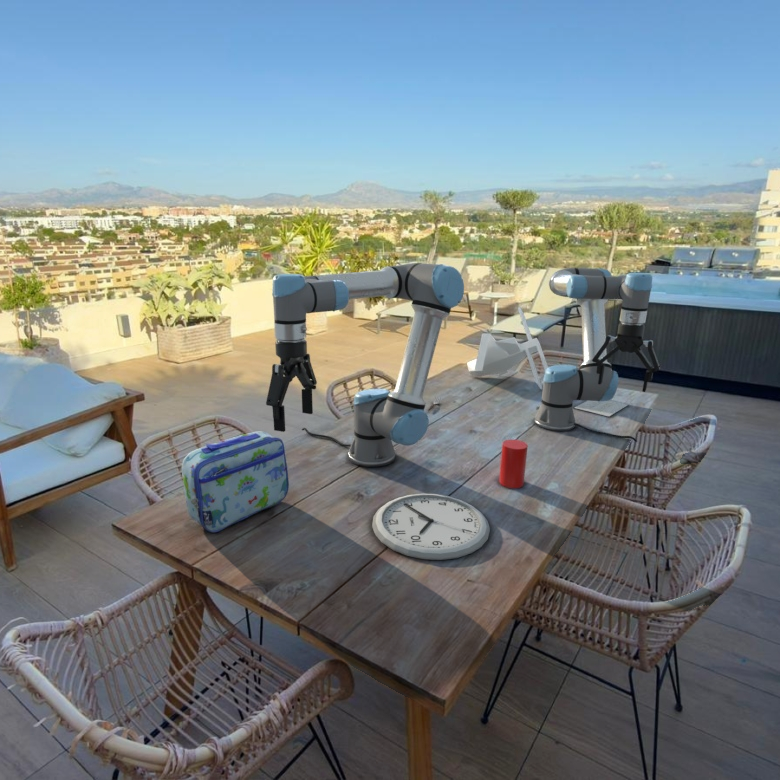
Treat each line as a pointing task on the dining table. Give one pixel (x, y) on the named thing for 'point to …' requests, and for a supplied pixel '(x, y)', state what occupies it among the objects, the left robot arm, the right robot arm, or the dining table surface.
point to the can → (513, 463)
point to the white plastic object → (505, 354)
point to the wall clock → (431, 526)
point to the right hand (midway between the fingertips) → (621, 387)
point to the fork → (434, 403)
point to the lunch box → (234, 479)
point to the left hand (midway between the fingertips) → (294, 421)
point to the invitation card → (601, 407)
